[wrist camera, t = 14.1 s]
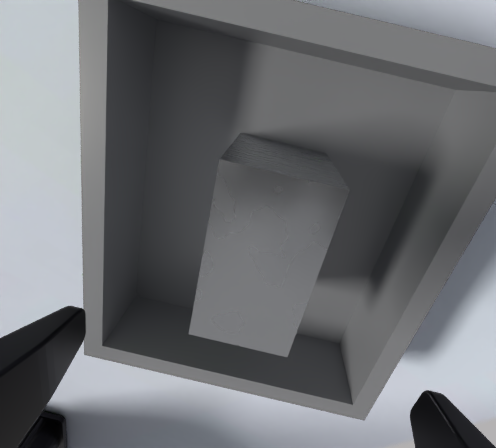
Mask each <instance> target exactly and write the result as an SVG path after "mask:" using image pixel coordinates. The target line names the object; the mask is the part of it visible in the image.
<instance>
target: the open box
mask: <svg viewBox="0 0 496 448" xmlns="http://www.w3.org/2000/svg"><path fill="white" fill-rule="evenodd" d="M78 3H79V64H80V124H81V185H82V246H83V306H84V310H85V313H86V335H85V338H84V355H88V356H92V357H96V358H100V359H105V360H109V361H113V362H117V363H122V364H126V365H130V366H134V367H139V368H143V369H147V370H151V371H156V372H160V373H164V374H168V375H173V376H177V377H181V378H186V379H190V380H194V381H198V382H203V383H207V384H211V385H215V386H220V387H224V388H228V389H232V390H237V391H241V392H245V393H249V394H254V395H258V396H262V397H266V398H271V399H275V400H279V401H283V402H288V403H292V404H296V405H300V406H305V407H309V408H313V409H318V410H322V411H326V412H330V413H335V414H339V415H343V416H347V417H352V418H356V419H360V420H365V418H366V417H367V415H368V413H369V412H370V410H371V408H372V406H373V405H374V403H375V401H376V400H377V398H378V396H379V395H380V393H381V391H382V390H383V388H384V386H385V384H386V383H387V381H388V379H389V378H390V376H391V374H392V373H393V371H394V369H395V368H396V366H397V364H398V363H399V361H400V359H401V357H402V356H403V354H404V352H405V351H406V349H407V347H408V346H409V344H410V342H411V341H412V339H413V337H414V335H415V334H416V332H417V330H418V329H419V327H420V325H421V324H422V322H423V320H424V319H425V317H426V315H427V313H428V312H429V310H430V308H431V307H432V305H433V303H434V302H435V300H436V298H437V297H438V295H439V293H440V292H441V290H442V288H443V286H444V285H445V283H446V281H447V280H448V278H449V276H450V275H451V273H452V271H453V270H454V268H455V266H456V264H457V263H458V261H459V259H460V258H461V256H462V254H463V253H464V251H465V249H466V248H467V246H468V244H469V243H470V241H471V239H472V237H473V236H474V234H475V232H476V231H477V229H478V227H479V226H480V224H481V222H482V221H483V219H484V217H485V215H486V214H487V212H488V210H489V209H490V207H491V205H492V204H493V202H494V200H495V199H496V48H492V47H488V46H484V45H480V44H476V43H471V42H467V41H463V40H459V39H454V38H450V37H446V36H442V35H438V34H433V33H429V32H425V31H421V30H417V29H412V28H408V27H404V26H400V25H395V24H391V23H387V22H383V21H379V20H374V19H370V18H366V17H362V16H358V15H353V14H349V13H345V12H341V11H336V10H332V9H328V8H324V7H320V6H315V5H311V4H307V3H303V2H299V1H294V0H78ZM240 133H243V134H247V135H251V136H255V137H260V138H264V139H268V140H272V141H277V142H281V143H285V144H289V145H293V146H298V147H302V148H306V149H310V150H314V151H319V152H323V153H326V154H327V155H328V157H329V158H330V160H331V161H332V163H333V165H334V166H335V168H336V169H337V171H338V172H339V174H340V175H341V177H342V179H343V180H344V182H345V183H346V185H347V186H348V188H349V189H350V191H349V194H348V196H347V199H346V202H345V204H344V207H343V210H342V212H341V215H340V218H339V220H338V223H337V226H336V229H335V231H334V234H333V237H332V239H331V242H330V245H329V247H328V250H327V253H326V255H325V258H324V261H323V263H322V266H321V269H320V271H319V274H318V277H317V279H316V282H315V285H314V287H313V290H312V293H311V295H310V298H309V301H308V303H307V306H306V309H305V311H304V314H303V317H302V319H301V322H300V325H299V327H298V330H297V333H296V335H295V338H294V341H293V344H292V346H291V349H290V352H289V354H288V357H284V356H279V355H275V354H271V353H267V352H262V351H258V350H254V349H250V348H245V347H241V346H237V345H233V344H228V343H224V342H220V341H216V340H211V339H207V338H203V337H199V336H194V335H190V334H189V329H190V323H191V317H192V312H193V306H194V300H195V295H196V289H197V284H198V278H199V272H200V267H201V261H202V255H203V250H204V244H205V238H206V233H207V227H208V221H209V216H210V210H211V204H212V199H213V193H214V187H215V182H216V176H217V170H218V165H219V159H220V158H221V157H222V155H223V154H224V153H225V152H226V150H227V149H228V148H229V147H230V145H231V144H232V143H233V142H234V140H235V139H236V138H237V137H238V135H239V134H240Z"/></svg>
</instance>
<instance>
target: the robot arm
mask: <svg viewBox="0 0 496 448" xmlns="http://www.w3.org/2000/svg"><path fill="white" fill-rule="evenodd" d="M85 335H86V313H85V310H84V309H82V308H78V307H74V306H67V307H64V308H62V309H60V310H58V311H56V312H54V313H52V314H49V315H47V316H45V317H43V318H41V319H39V320H37V321H35V322H33V323H31V324H29V325H27V326H24V327H22V328H20V329H18V330H16V331H14V332H12V333H10V334H8V335H6V336H4V337H2V338H0V448H67V441H66V424H65V419H64V417H62V416H60V415H55V414H51V413H47V412H43V409H44V408H45V406H46V405H47V403H48V402H49V400H50V399H51V397H52V396H53V394H54V392H55V390H56V389H57V387H58V385H59V383H60V382H61V380H62V378H63V376H64V375H65V373H66V371H67V369H68V367H69V366H70V364H71V362H72V360H73V359H74V357H75V355H76V353H77V351H78V350H79V348H80V346H81V344H82V342H83V340H84V338H85ZM410 421H411V426H412V432H413V437H414V443H415V448H496V447H495V446H494V445H493V444H492V443H491V442H490V441H489V440H488V439H487V438H486V437H485V436H484V435H483V434H482V433H481V432H480V431H479V430H478V429H477V428H476V427H475V426H474V425H473V424H472V423H471V422H470V421H469V420H468V419H467V418H466V417H465V416H464V415H463V414H462V413H461V412H460V411H459V410H458V409H457V408H456V407H455V406H454V405H453V404H452V403H451V402H450V401H449V400H448V399H447V398H446V397H445V396H444V395H443V394H441V393H437V392H433V391H429V390H426V391H424V392H423V393H422V394H421V396H420V397H419V399H418V400H417V402H416V403H415V404H414V406H413V407H412V409H411V412H410Z"/></svg>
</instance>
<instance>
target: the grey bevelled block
mask: <svg viewBox="0 0 496 448" xmlns="http://www.w3.org/2000/svg"><path fill="white" fill-rule="evenodd" d="M349 191H350V189H349V188H348V186H347V185H346V183H345V182H344V180H343V179H342V177H341V175H340V174H339V172H338V171H337V169H336V168H335V166H334V165H333V163H332V161H331V160H330V158H329V157H328V155H327V154H326V153H323V152H319V151H314V150H310V149H306V148H302V147H298V146H293V145H289V144H285V143H281V142H277V141H272V140H268V139H264V138H260V137H255V136H251V135H247V134H243V133H240V134H239V135H238V137H237V138H236V139H235V140H234V142H233V143H232V144H231V145H230V147H229V148H228V149H227V150H226V152H225V153H224V154H223V155H222V157H221V158H220V159H219V165H218V170H217V176H216V182H215V187H214V193H213V199H212V204H211V210H210V216H209V221H208V227H207V233H206V238H205V244H204V250H203V255H202V261H201V267H200V272H199V278H198V284H197V289H196V295H195V300H194V306H193V312H192V317H191V323H190V329H189V334H190V335H194V336H199V337H203V338H207V339H211V340H216V341H220V342H224V343H228V344H233V345H237V346H241V347H245V348H250V349H254V350H258V351H262V352H267V353H271V354H275V355H279V356H284V357H288V354H289V352H290V349H291V346H292V344H293V341H294V338H295V335H296V333H297V330H298V327H299V325H300V322H301V319H302V317H303V314H304V311H305V309H306V306H307V303H308V301H309V298H310V295H311V293H312V290H313V287H314V285H315V282H316V279H317V277H318V274H319V271H320V269H321V266H322V263H323V261H324V258H325V255H326V253H327V250H328V247H329V245H330V242H331V239H332V237H333V234H334V231H335V229H336V226H337V223H338V220H339V218H340V215H341V212H342V210H343V207H344V204H345V202H346V199H347V196H348V194H349Z"/></svg>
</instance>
